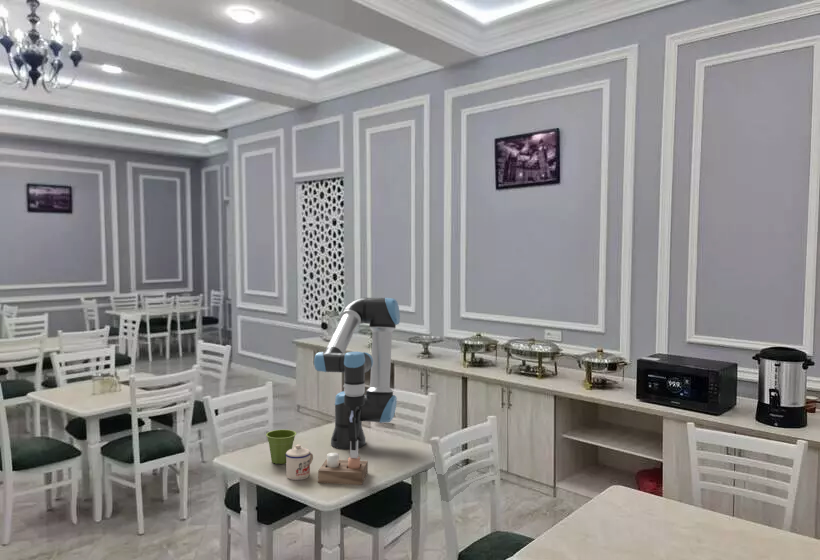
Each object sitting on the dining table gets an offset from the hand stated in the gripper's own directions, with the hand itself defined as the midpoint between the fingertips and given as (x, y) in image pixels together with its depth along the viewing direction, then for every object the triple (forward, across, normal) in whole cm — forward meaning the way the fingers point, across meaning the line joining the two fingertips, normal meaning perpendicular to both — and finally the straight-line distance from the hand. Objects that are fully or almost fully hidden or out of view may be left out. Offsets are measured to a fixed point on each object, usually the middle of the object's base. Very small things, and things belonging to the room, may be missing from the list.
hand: (354, 457), depth 212 cm
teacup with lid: (+8, -1, -20) cm, 22 cm away
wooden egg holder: (+8, 0, -4) cm, 9 cm away
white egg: (+5, 0, -8) cm, 10 cm away
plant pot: (+8, -14, -32) cm, 36 cm away
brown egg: (+6, 0, 0) cm, 6 cm away
